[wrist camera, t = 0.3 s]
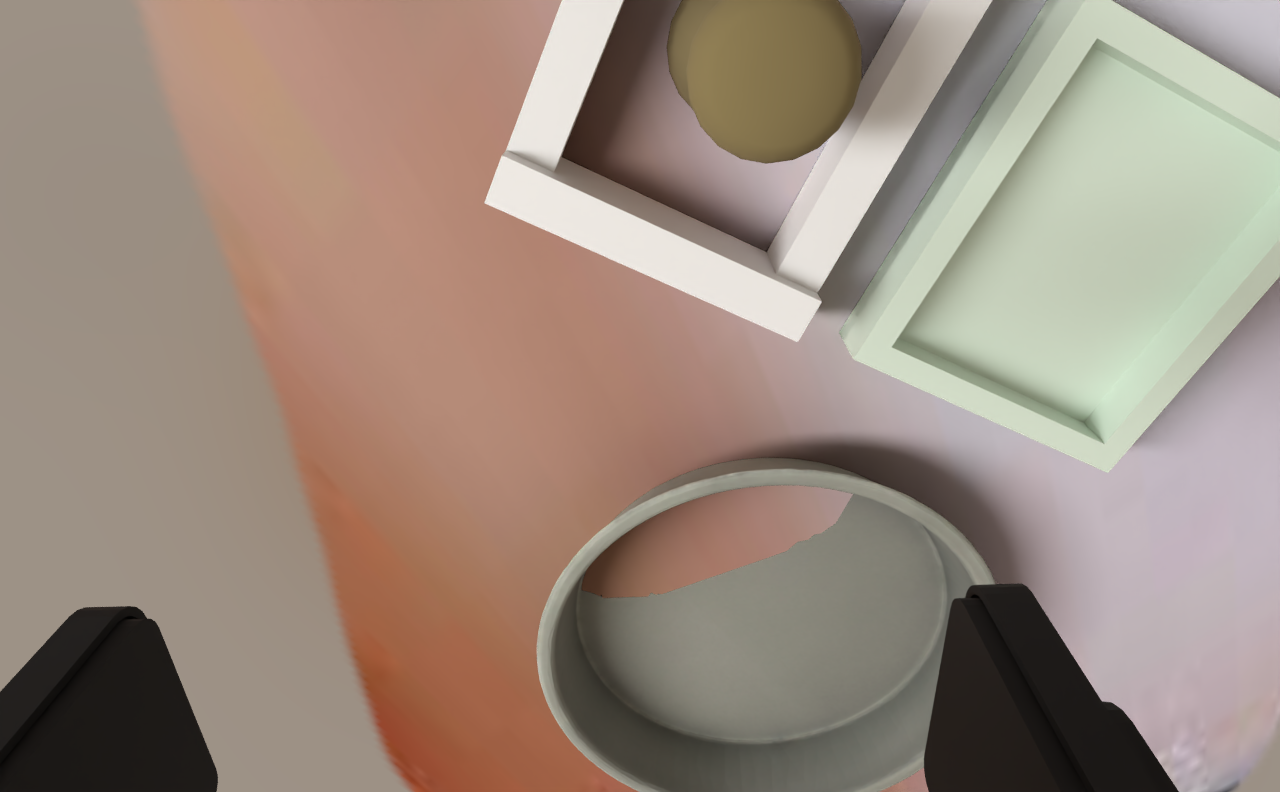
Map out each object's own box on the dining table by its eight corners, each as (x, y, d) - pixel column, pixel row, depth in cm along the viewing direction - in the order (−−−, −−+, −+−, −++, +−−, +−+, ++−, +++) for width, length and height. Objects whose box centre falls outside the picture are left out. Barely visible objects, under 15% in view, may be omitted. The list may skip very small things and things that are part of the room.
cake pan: (1064, 508, 43) (1106, 563, 39) (851, 791, 54) (867, 856, 50) (631, 361, 39) (629, 405, 35) (496, 697, 50) (482, 759, 46)
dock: (658, -241, 28) (660, -272, 24) (990, -49, 31) (1035, -53, 27) (501, 180, 35) (484, 203, 31) (783, 307, 37) (797, 341, 34)
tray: (1054, -13, 31) (1092, -11, 29) (1325, 144, 34) (1382, 158, 31) (839, 332, 38) (853, 359, 35) (1077, 440, 41) (1108, 473, 38)
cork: (780, 147, 34) (832, 215, 24) (646, 97, 33) (644, 148, 23) (843, -3, 31) (929, 6, 22) (698, -62, 31) (721, -79, 21)
